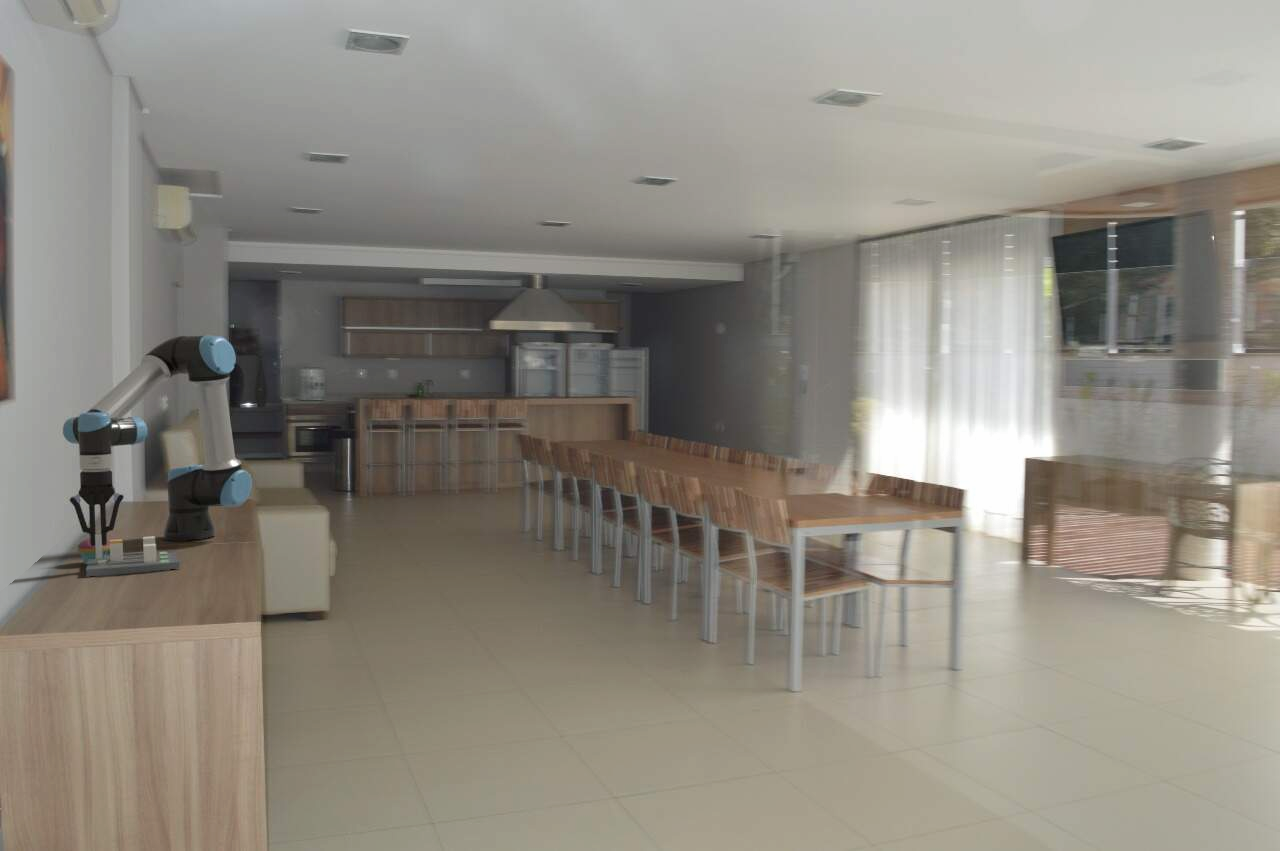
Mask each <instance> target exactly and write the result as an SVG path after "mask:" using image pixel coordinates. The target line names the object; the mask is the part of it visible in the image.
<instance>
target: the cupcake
mask: <svg viewBox="0 0 1280 851" xmlns="http://www.w3.org/2000/svg"><path fill="white" fill-rule="evenodd" d="M87 525H88V528H90V520H88V524H87ZM76 551H77V553H78V554H79V555H80V556H81V558H82V561H83V563H84V565H85V564H88V560H89V559H95V558H96V547H95V546H91V543H90V538H88V539H87V538H86V539H85V540H82V541H81V542H79V544H78V545H77V550H76ZM109 551H110V540H107V543H106V545H102V554H103V557H102V558H107V555H108V552H109Z"/></svg>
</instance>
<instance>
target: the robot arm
mask: <svg viewBox="0 0 1280 851" xmlns="http://www.w3.org/2000/svg"><path fill="white" fill-rule="evenodd" d="M236 358H237V357H236V352H235V350H234V347H233V345H232V344H231V343H230V342H229V340H227V339H226V338H225V337H222V336H219V335H218V336H217V335H210V334H207V335H178V336H174V337H172V338H169V339H167V340H165V341H163V342H162V343H160V344H158V345H157V346H155V347H154V348H153V349H151V350H150V351H149V352H148V353H146V354H145V355H144V356H143V357H142V358H141V360H140V364H139V365H138V366H136V368H134V370H133V371H132V372H130V373H129V374H128V375H127V376H126V377H125V378H124V379H122V381H121V382H119V383H117V385H115V386H114V388H112V389H111V390H110V391H109V392H107V394H106V395H104V396H103V397H102V398H100V400H99V401H98V402H96V403H95V404H94V406H92V407H91V408H90V409H89V410H88V411H87V412H83V413H80V414H79V416H75V417H69V418H68V419H67V420H65V422H64V424H63V427H62V434H63V437H64V439H65V440H66V441H68V442H69V443H71V444H76V445H77V444H78V449H79V450H78V451H79V453H78V454H79V455H78V456H79V458H78V459H79V470H81V471H80V473H79V478H80V479H79V482H80V483H79V484H80V487H79V490H78V492H77V494H76V495H74V496H70V498H69V502H70V503H71V505H72V506H73V507H74V510H75V513H76V516H77V519H78V522H79V525H80V528H81V531H82V532H83V533H87V534H89V539H90V543H91V546H95V547H96V558H102V557H103V554H102V545H106V543H107V541H108V540H107V539H108V538H107V536H108V535H107V534H108V533H109V532H111V531H113V530H114V528H115V524H116V520H117V516H118V512H119V508H120V504H121V502H122V501H123V499H124V497H125V496H124V494H123V493H119V492H117V491H116V490H115V488H114V486H113V471H112V470H110V469H112V468H113V462H112V460H113V459H112V447H119V446H130V445H132V446H134V445H137V444H141V443H143V442H144V441H145V440H146V439H147V436H148V426H147V424H146V422H145V421H144V420H143V419H142V418H139V417H131V416H128V417H124V416H126V415H127V414H128V413H129V412H130V411H131V410H132V409H133V408H134V407H135V406H137V404H139V403H140V402H141V401H142V400H143V399H144V398H145V397H146V396H147V395H148V394H150V392H151V391H153V390H154V389H155V388H156V387H157V386H159V384H160V383H165V382H167V381H169V380H170V379H171V378H172V377H174V376H177V375H181V374H182V375H183V374H185V375H187V376H188V382H189V383H191V384H192V385H193V387H195V394H196V402H197V407H198V408H197V409H198V414H199V422H200V429H201V437H202V442H203V450H204V458H205V462H204V463H203V464H196V465H195V464H194V465H189V466H188V465H187V466H181V467H174V468H171V469H169V471H168V473H167V494H168V495H167V496H168V498H167V499H168V517H167V520H166V524H165V527H164V529H163V540H164V539H166V540H165V541H168V540H192V541H194V540H193V539H201V540H203V539H202V538H207V539H209V538H208V537H211V538H213V537H212V536H214V535H215V536H216V527H215V525H214V523H213V520H212V517H211V515H210V508H209V507H223V508H231V507H232V508H233V507H236V508H237V507H239V506H241V505H243V504H244V503H245V502H246V501H247V500H248V498H249V496H250V494H251V492H252V487H253V479H252V476H251V474H250V473H249V472H248V471H247V470H244V469H243V468H242V462H241V460H239V459H237V458H236V454H235V446H234V440H233V439H234V438H233V430H232V425H231V417H230V411H229V410H230V409H229V408H230V407H229V403H228V394H227V393H228V392H227V387H226V383H227V382H228V381H229V380H230V373H231V372H232V371H233V370H234V369H235V365H236V360H237V359H236ZM112 497H113V501H114V504H113V508H112V512H111V517H110V519H109V520H110V521H109V525H108V526H107V508H106V504H107V503H108V502H109V501H110V499H112ZM81 499H82V500H83V501H84V502H85V503H86V504H87V505H88V509H89V510H88V511H89V512H88V514H89V521H90V528H89V526H88V524H87V522H86V519H85V516H84V513H83V510H82V507H81V506H82V505H81V504H80V502H81ZM96 505H99V512H100V513H99V514H100V532H96V512H95V511H96ZM215 536H214V537H215Z"/></svg>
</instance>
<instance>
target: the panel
mask: <svg viewBox="0 0 1280 851" xmlns="http://www.w3.org/2000/svg"><path fill="white" fill-rule="evenodd" d="M142 546H143V547H142V548H143V549H142V550H143V551H139V552H138V551H137V552H128V553H127V552H126V553H124V552H123V560H122V561H110V554H109V555H108V557H106V558H95V559H89V560H88V564H87V565H86V568H85V574H86V576H85V577H86V578H91V577H90V576H96V577H105V576H118V575H130V574H140V573H141V574H142V573H152V572H151V571H154V572H161V571H160V570H165V571H170V570H169V569H177V568H179V569H180V559H179V556H178V552H177V551H173V552H168V551H159V553H158V550H157V544H156V536H155V535H154V536H152V535H151V536H143V537H142ZM177 570H178V569H177Z"/></svg>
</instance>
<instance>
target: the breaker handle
mask: <svg viewBox="0 0 1280 851" xmlns="http://www.w3.org/2000/svg"><path fill="white" fill-rule="evenodd" d="M109 542H110V550H109V555H110V561H122V560H123V554H124V548H123V547H124V546H123V545H124V544H123V538H118V539H110V540H109Z"/></svg>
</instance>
